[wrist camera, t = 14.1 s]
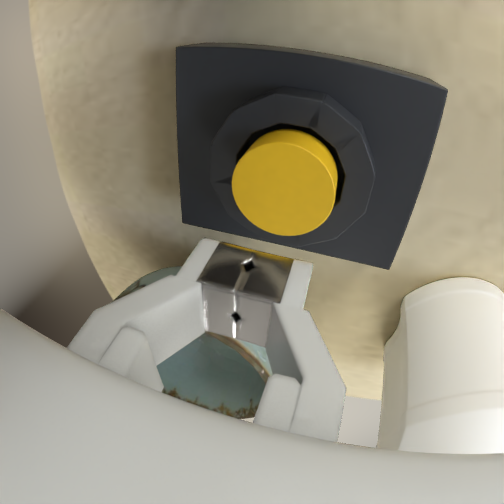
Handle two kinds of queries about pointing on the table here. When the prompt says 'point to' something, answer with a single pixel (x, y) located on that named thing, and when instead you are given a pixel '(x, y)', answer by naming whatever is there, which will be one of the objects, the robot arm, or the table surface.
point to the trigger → (286, 182)
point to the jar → (446, 371)
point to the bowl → (213, 367)
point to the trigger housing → (316, 124)
